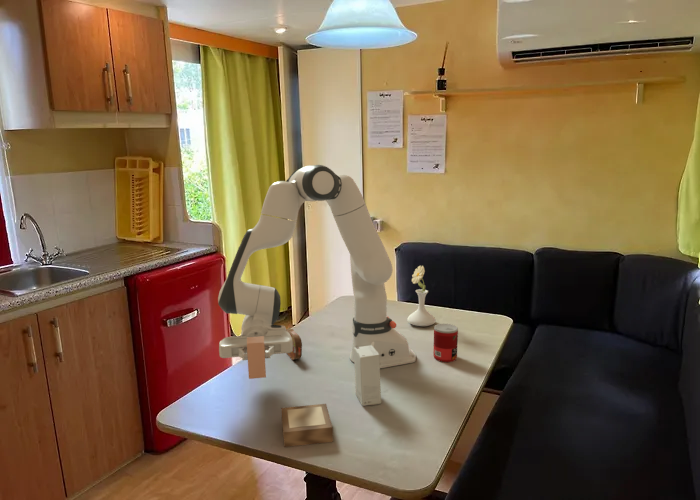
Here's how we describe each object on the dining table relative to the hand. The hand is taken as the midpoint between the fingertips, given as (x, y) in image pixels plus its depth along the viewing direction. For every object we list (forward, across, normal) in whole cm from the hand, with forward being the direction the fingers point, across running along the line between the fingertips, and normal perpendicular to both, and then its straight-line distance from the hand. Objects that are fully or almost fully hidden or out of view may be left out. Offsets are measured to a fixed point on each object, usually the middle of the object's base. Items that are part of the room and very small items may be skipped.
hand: (256, 356), depth 141 cm
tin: (-39, +12, +17) cm, 44 cm away
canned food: (-26, +63, +17) cm, 70 cm away
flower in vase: (-59, +65, +17) cm, 89 cm away
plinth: (+11, +12, +17) cm, 23 cm away
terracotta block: (-1, 0, +6) cm, 6 cm away
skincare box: (-3, +31, +17) cm, 35 cm away
